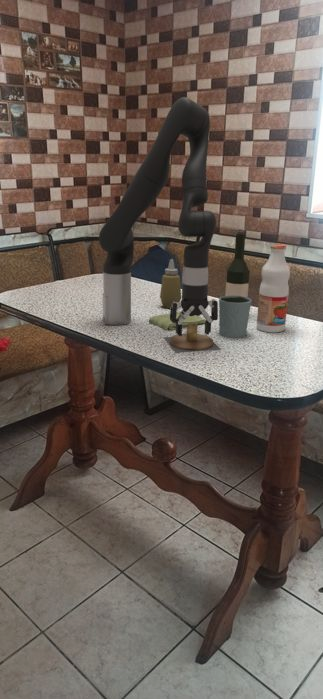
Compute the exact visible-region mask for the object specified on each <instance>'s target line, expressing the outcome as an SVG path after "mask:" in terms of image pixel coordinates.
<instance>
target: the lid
mask: <svg viewBox="0 0 323 699" xmlns="http://www.w3.org/2000/svg"><path fill="white" fill-rule="evenodd" d="M198 326H199V325H198V324H197V323H187V327H186V333H182V336H178V334H175V335H173V336H170V337H171V338H170V344H171V345H172V346H173V347H175V348H178V349H182V350H192V351H195V352H197V351H196V350H205V349H208V348H211V347H212V346H213V342H214V339H213V338H212V337H210V336H208V335H207V336H205V335H206V334H202V333H198Z"/></svg>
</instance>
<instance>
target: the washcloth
mask: <svg viewBox="0 0 323 699" xmlns="http://www.w3.org/2000/svg"><path fill="white" fill-rule="evenodd" d="M181 311H182V310H181ZM181 311H177V314H176V318H177V317H178V316H179V314H180V312H181ZM205 321H206V319H205V318H203V317H201V315H200V316H196V315H195V316H189V315H188V317H187V318H186V319H185V320H184V321H183V322H182V329H187V323H197V324H198V326H199V325H205ZM148 323H149V324H151V325H154V326H158V327H160V328H161V329H163V330H164V331H167V332H168V331H171V332H172V331H176V323H173V322H172V321H171V320H170V313H169V312H168V314H167V313H166V314H158V315H153V316H151V317H149V319H148Z"/></svg>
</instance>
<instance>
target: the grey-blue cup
mask: <svg viewBox="0 0 323 699" xmlns="http://www.w3.org/2000/svg"><path fill="white" fill-rule="evenodd" d="M251 306H252V299H251V298H250V297H248V298H247V297H243V296H225V295H222V296H220V297H219V298H218V320H219V321H218V326H219V328H218V329H219V331H218V333H219V335H220V336H222V337H225V338H231V339H239V338H243V337H246V335H247V331H248V330H247V328H248V324H249V318H250V317H249V316H250V311H251Z"/></svg>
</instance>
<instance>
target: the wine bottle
mask: <svg viewBox="0 0 323 699" xmlns="http://www.w3.org/2000/svg"><path fill="white" fill-rule="evenodd" d="M236 232H237V233H235V241H234V243H235V244H234V256H233V259H232V260H231V262H230V264H229V265H228V266H227V268H226V278H225V280H226V281H225V294H224V296H243V297H247V298H249V297H248V295H249V283H250V268H249V267H248V265H247V262H246V261H245V260H246V259H245V247H246V245H245V244H246V233H245V231H244V230H237V231H236Z"/></svg>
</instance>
